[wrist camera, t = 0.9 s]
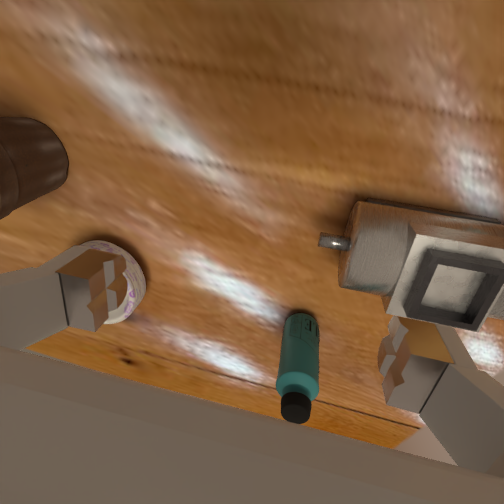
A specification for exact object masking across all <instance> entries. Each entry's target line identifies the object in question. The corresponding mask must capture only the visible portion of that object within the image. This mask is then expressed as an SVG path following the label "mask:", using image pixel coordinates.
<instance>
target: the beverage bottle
mask: <svg viewBox="0 0 504 504" xmlns="http://www.w3.org/2000/svg"><path fill="white" fill-rule="evenodd" d="M284 325H285V326H283V327H284V331H283V334H282V335H283V338H282V341H281V342H282V343H281V344H282V346H281V353H280V354H281V356H280V363H279V370H278V376H277V381H276V389H277V391H278V393H279V395H280V396H281V397H282V399H281V414H282V416H283V418H284V419H285V420H287V421H288V422H292V423H296V424H302V423H305V422H306V421H308V419H309V417H310V411H311V401H312V400H314V399H315V398H316V397H317V395H318V393H319V378H318V373H319V367H320V366H319V363H320V362H319V361H320V360H319V343H320V339H319V336H320V335H319V332H320V331H319V327H318V323H317V322H316V320H315V319H314V318H313V317H311V316H310V315H307V314H304V313H297V314H294V315H291V316H290V317H289V318H288V319H287V321H286V322H285V324H284Z"/></svg>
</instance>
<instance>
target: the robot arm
mask: <svg viewBox="0 0 504 504" xmlns="http://www.w3.org/2000/svg"><path fill="white" fill-rule="evenodd" d="M126 269H127V267H126V259H125V258H124V257H123V256H122V255H118V254H114V253H110V252H106V251H101V250H97V249H92V248H89V247H84V246H73V247H71V248H69V249H68V250H66V251H64V252H63V253H61V254H60V255H58V256H56V257H55V258H53V259H51V260H50V261H48V262H46V263H45V264H43V265H41V266H40V267H38V268H33V267H31V268H26V269H21V270H16V271H12V272H7V273H2V274H0V504H504V386H503V385H501V384H500V383H499V382H498V381H496V380H495V379H494V378H492V377H491V376H490V375H489V374H487V373H486V372H484V371H480V370H478V369H477V367H476V365H475V364H474V362H473V360H472V358H471V357H470V355H469V353H468V351H467V350H466V348H465V346H464V344H463V343H462V341H461V339H460V338H459V336H458V334H457V332H456V331H455V329H454V328H452V327H451V326H447V325H441V324H436V323H430V322H425V321H419V320H414V319H409V318H404V317H399V316H393V317H392V319H391V320H390V322H389V325H388V330H389V333H390V335H388V336H386V337H384V338H383V339H382V341H381V344H380V347H379V351H378V368H379V372H380V373H381V374H382V375H383V376H384V377H385V378H384V380H383V383H382V387H383V392H384V396H385V401H386V405H389V406H393V407H397V408H400V409H404V410H407V411H411V412H415V413H418V414H420V415H419V416H420V417H421V418H422V420H423V421H424V422H425V423H426V425H427V426H428V427H429V429H430V430H431V431H432V433H433V434H434V435H435V436H436V438H437V439H438V440H439V441H440V443H441V444H442V446H443V447H444V448H445V449H446V451H447V452H448V453H449V454H450V456H451V457H452V459H453V460H454V461H455V462H456V463H457V465H458V466H455V465H451V464H447V463H444V462H440V461H436V460H432V459H428V458H425V457H421V456H417V455H413V454H409V453H405V452H402V451H398V450H394V449H390V448H386V447H382V446H378V445H375V444H371V443H367V442H363V441H360V440H356V439H352V438H348V437H345V436H341V435H337V434H333V433H330V432H326V431H322V430H318V429H315V428H311V427H307V426H303V425H300V424H296V423H292V422H288V421H284V420H281V419H277V418H273V417H269V416H266V415H262V414H258V413H254V412H251V411H247V410H243V409H239V408H235V407H232V406H228V405H224V404H220V403H216V402H213V401H209V400H205V399H201V398H197V397H194V396H190V395H186V394H182V393H178V392H175V391H171V390H167V389H163V388H159V387H155V386H152V385H148V384H144V383H140V382H136V381H133V380H129V379H125V378H121V377H117V376H114V375H110V374H106V373H102V372H98V371H95V370H91V369H87V368H83V367H80V366H76V365H72V364H68V363H64V362H61V361H57V360H53V359H49V358H45V357H42V356H38V355H34V354H30V353H26V352H22V351H19V350H21V349H23V348H26V347H28V346H30V345H32V344H34V343H36V342H38V341H40V340H42V339H45V338H47V337H49V336H51V335H53V334H55V333H57V332H59V331H61V330H64V329H66V328H68V326H70V327H75V328H79V329H84V330H88V331H93V332H96V331H97V330H98V328H99V327H100V326H101V325H102V324H103V323H104V322H105V321H106V320H107V319H108V318H109V315H108V312H110V311H113V310H115V309H118V307H119V306H120V305H121V304H122V303H123V301H124V299H125V297H126V294H127V288H128V283H127V279H126V278H125V276H124V275H123V274H122V273H123V272H124V271H125V270H126Z"/></svg>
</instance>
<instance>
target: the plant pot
mask: <svg viewBox="0 0 504 504" xmlns="http://www.w3.org/2000/svg"><path fill="white" fill-rule="evenodd" d="M68 165H69V164H68V158H67V154H66V152H65V149H64V147H63V145H62V143H61V142H60V140H59V139H58V137H57V136H56V135H55V133H54V132H53V131H52V130H51V129H50V128H48V127H47V126H46V125H45V124H42V123H39V122H37V121H35V120H33V119H31V118H14V117H0V219H2V218H4V217H6V216H8V215H9V214H10V213H11V212H12V211H13V210H15V209H17V208H19V207H21V206H23V205H25V204H27V203H29V202H31V201H33V200H35V199H37V198H38V197H40V196H42V195H45V194H47V193H49V192H51V191H53V190H55V189H57V188H58V187H60V186H61V185H62V184H63V183H64V182H65V180H66V178H67V174H66V173H67V168H68Z"/></svg>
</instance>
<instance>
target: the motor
mask: <svg viewBox="0 0 504 504" xmlns="http://www.w3.org/2000/svg"><path fill="white" fill-rule="evenodd" d="M500 224H501V222H500V221H498V220H497V219H494V218H488V217H482V216H476V215H470V214H464V213H458V212H452V211H446V210H440V209H434V208H428V207H422V206H416V205H410V204H404V203H398V202H392V201H386V200H379V199H373V198H367V200H366V202H362V201H357V202H356V203H355V205H354V207H353V209H352V211H351V213H350V216H349V219H348V222H347V225H346V229H345V233H344V236H340V235H334V234H328V233H323V232H321V233H320V237H319V242H318V246H319V247H325V248H330V249H335V250H341V252H340V258H339V267H338V283H339V286H340V287H341V288H345V289H350V290H355V291H360V292H366V293H371V294H376V295H381V299H382V302H383V306H384V309H385V312H386V313H387V314H392V315H396V316H401V317H406V318H411V319H416V320H421V321H426V322H431V323H436V324H441V325H447V326H451V327H455V328H460V329H465V330H470V331H474V332H479V330H480V329H481V327H482V325H483V323H484V322H485V320H486V318H487V317H491V318H496V319H501V320H504V225H500Z"/></svg>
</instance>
